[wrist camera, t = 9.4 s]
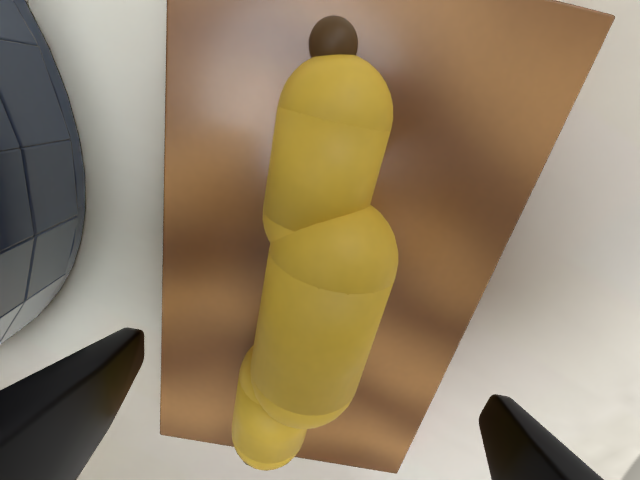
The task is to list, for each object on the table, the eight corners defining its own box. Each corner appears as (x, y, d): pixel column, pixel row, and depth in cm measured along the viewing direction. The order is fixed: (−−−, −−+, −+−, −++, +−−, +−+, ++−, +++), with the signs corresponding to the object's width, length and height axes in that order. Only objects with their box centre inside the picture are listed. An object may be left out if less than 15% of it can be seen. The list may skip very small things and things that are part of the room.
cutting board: (393, 451, 18) (397, 474, 17) (170, 413, 17) (159, 435, 16) (586, 23, 10) (618, 14, 9) (186, -76, 9) (167, -99, 8)
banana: (323, 437, 16) (322, 533, 12) (236, 422, 16) (209, 516, 12) (445, 53, 9) (513, 28, 6) (298, 18, 9) (278, -28, 6)
